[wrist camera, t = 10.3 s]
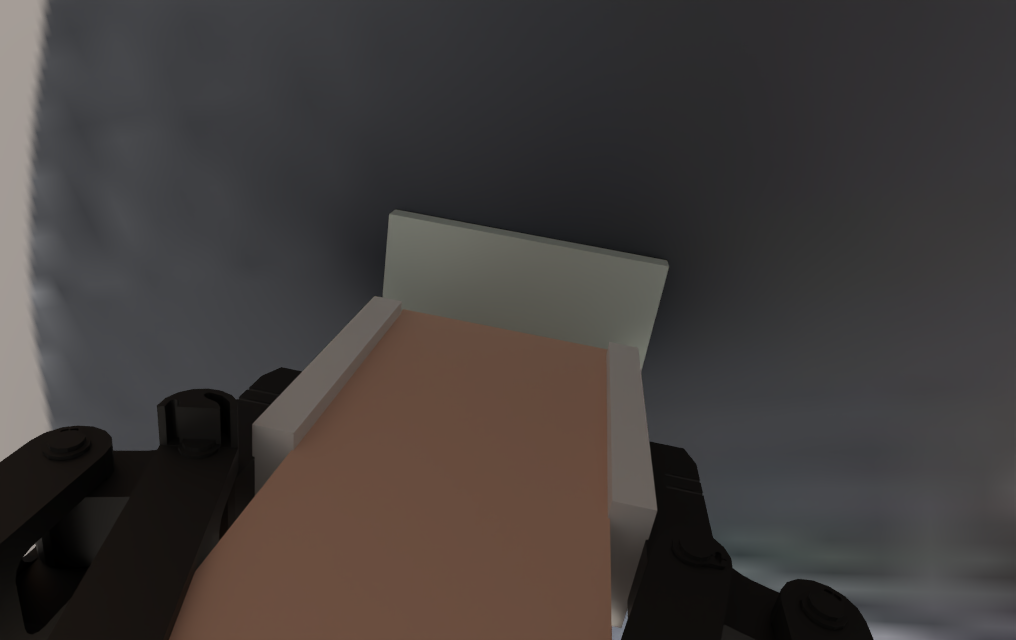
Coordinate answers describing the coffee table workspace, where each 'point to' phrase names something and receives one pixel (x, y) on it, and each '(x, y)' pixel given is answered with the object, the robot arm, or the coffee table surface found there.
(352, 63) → the coffee table surface
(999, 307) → the coffee table surface
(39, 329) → the coffee table surface
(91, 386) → the coffee table surface
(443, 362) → the domino
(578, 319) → the strip
